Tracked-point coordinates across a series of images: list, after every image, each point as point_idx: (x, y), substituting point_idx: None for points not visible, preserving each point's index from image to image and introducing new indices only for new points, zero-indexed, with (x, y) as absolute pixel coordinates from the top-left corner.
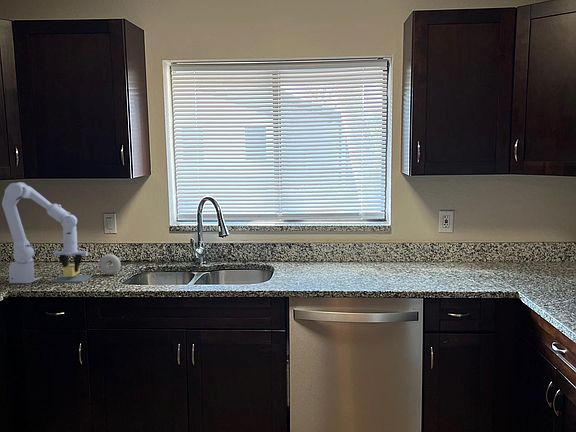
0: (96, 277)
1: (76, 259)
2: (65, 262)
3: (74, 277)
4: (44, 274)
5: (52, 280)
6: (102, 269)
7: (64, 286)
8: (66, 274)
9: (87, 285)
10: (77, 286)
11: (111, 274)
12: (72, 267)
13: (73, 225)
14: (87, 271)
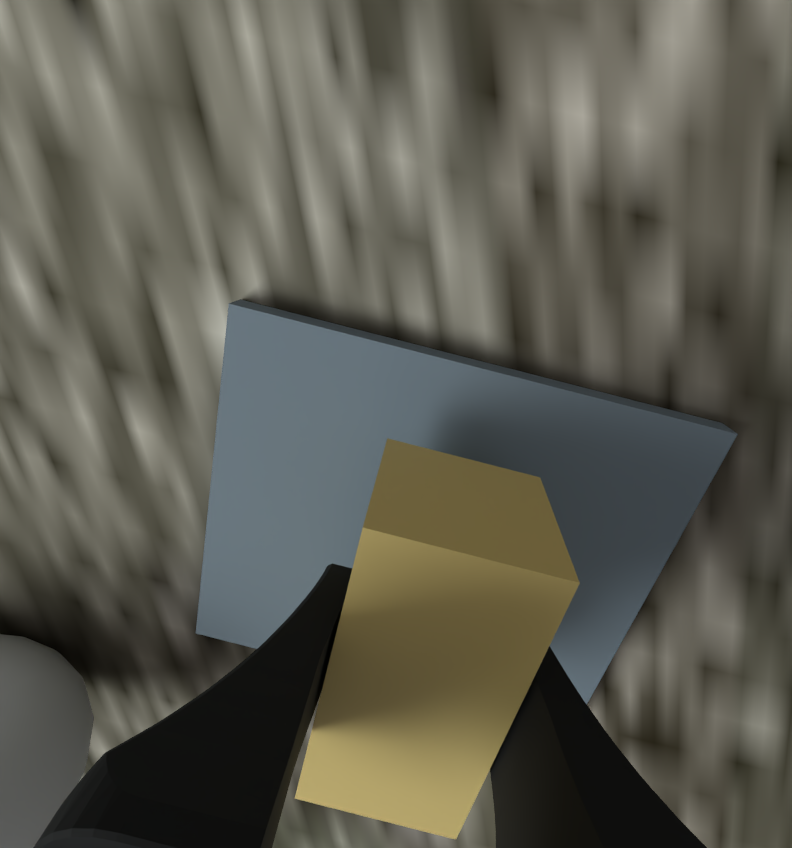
0: (144, 571)
1: (184, 756)
2: (548, 795)
3: None
4: (770, 842)
5: (702, 456)
6: (46, 702)
7: (482, 76)
8: (491, 482)
9: (101, 74)
10: (250, 21)
11: (2, 634)
12: (362, 560)
13: None
14: (323, 832)
